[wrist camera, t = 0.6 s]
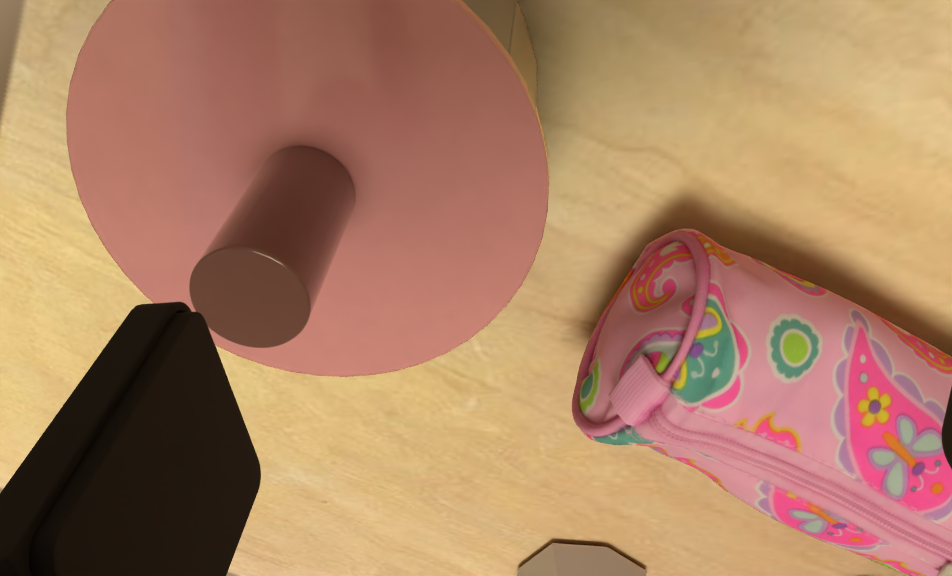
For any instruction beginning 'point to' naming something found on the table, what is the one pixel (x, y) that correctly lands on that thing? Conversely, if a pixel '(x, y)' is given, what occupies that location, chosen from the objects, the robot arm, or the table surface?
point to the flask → (579, 562)
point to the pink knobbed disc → (312, 172)
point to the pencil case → (777, 399)
